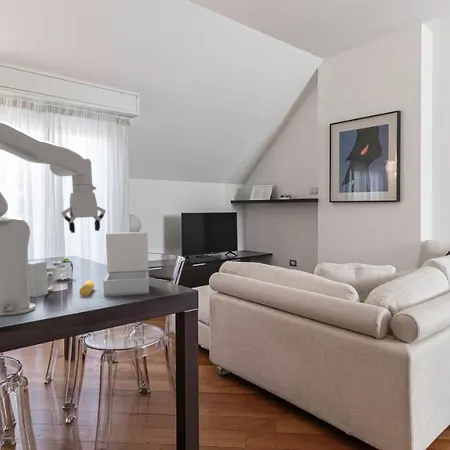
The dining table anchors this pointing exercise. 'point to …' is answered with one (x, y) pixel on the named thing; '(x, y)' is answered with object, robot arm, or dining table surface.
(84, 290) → the yellow rounded cylinder
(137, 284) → the white square tray
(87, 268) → the dining table surface
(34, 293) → the small box
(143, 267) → the lid
